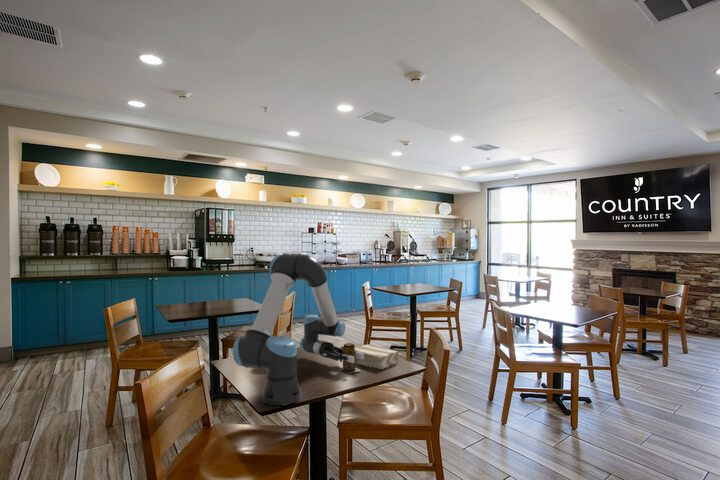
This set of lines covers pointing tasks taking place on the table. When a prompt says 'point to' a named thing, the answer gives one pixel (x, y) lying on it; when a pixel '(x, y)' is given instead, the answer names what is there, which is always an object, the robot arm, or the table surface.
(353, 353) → the condiment
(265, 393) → the robot arm
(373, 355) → the block
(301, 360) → the table surface
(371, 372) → the table surface
